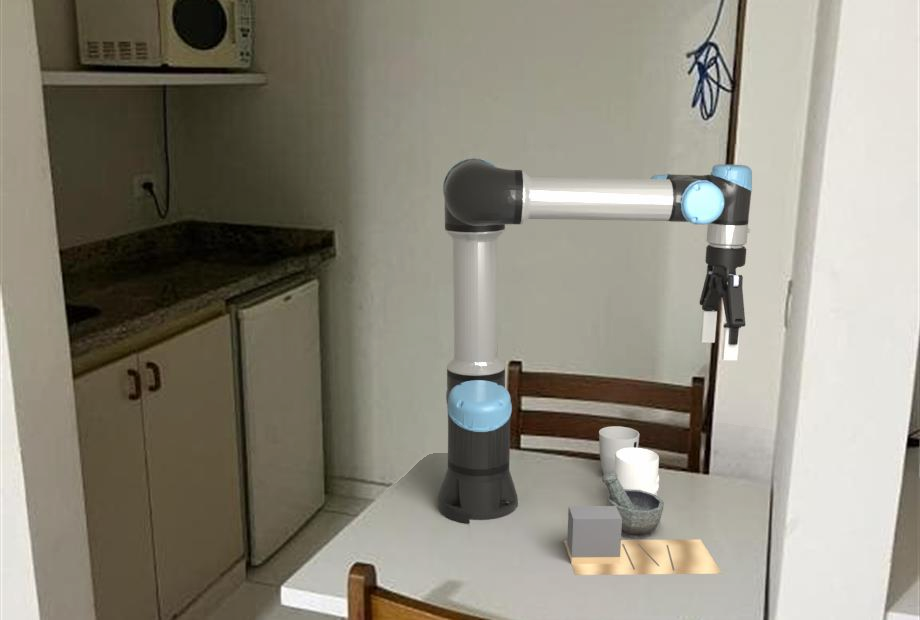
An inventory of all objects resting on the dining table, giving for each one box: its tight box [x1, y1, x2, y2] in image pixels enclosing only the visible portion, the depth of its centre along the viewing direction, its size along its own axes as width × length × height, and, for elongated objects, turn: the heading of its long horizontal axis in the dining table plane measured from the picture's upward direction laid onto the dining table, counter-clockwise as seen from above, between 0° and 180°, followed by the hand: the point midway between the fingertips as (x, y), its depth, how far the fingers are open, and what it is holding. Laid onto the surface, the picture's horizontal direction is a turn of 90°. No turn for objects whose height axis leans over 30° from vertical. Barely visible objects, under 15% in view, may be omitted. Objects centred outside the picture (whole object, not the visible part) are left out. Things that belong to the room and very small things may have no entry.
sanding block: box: [566, 505, 622, 565], centre depth 154 cm, size 8×5×8 cm, turn 92°
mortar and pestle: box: [601, 471, 665, 540], centre depth 163 cm, size 11×9×12 cm
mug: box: [614, 447, 660, 496], centre depth 173 cm, size 8×12×12 cm
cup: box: [598, 425, 640, 476], centre depth 189 cm, size 8×8×10 cm
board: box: [563, 538, 723, 576], centre depth 155 cm, size 24×12×1 cm, turn 92°
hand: (718, 350), depth 184 cm, fingers open, 13 cm apart
